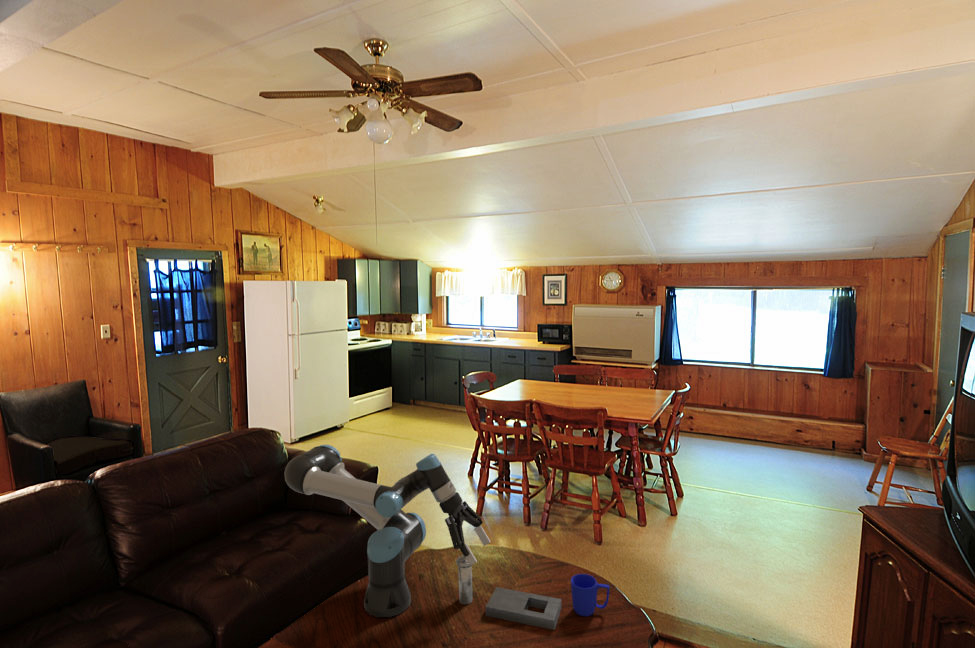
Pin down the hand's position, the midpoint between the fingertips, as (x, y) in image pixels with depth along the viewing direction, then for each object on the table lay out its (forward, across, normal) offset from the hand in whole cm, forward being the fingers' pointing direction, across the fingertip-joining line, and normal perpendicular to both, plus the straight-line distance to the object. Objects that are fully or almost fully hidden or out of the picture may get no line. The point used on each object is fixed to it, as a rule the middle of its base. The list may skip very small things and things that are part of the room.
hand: (480, 553), depth 169 cm
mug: (+32, +3, -22) cm, 39 cm away
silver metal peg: (+10, -4, +12) cm, 16 cm away
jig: (+21, -4, -5) cm, 22 cm away
